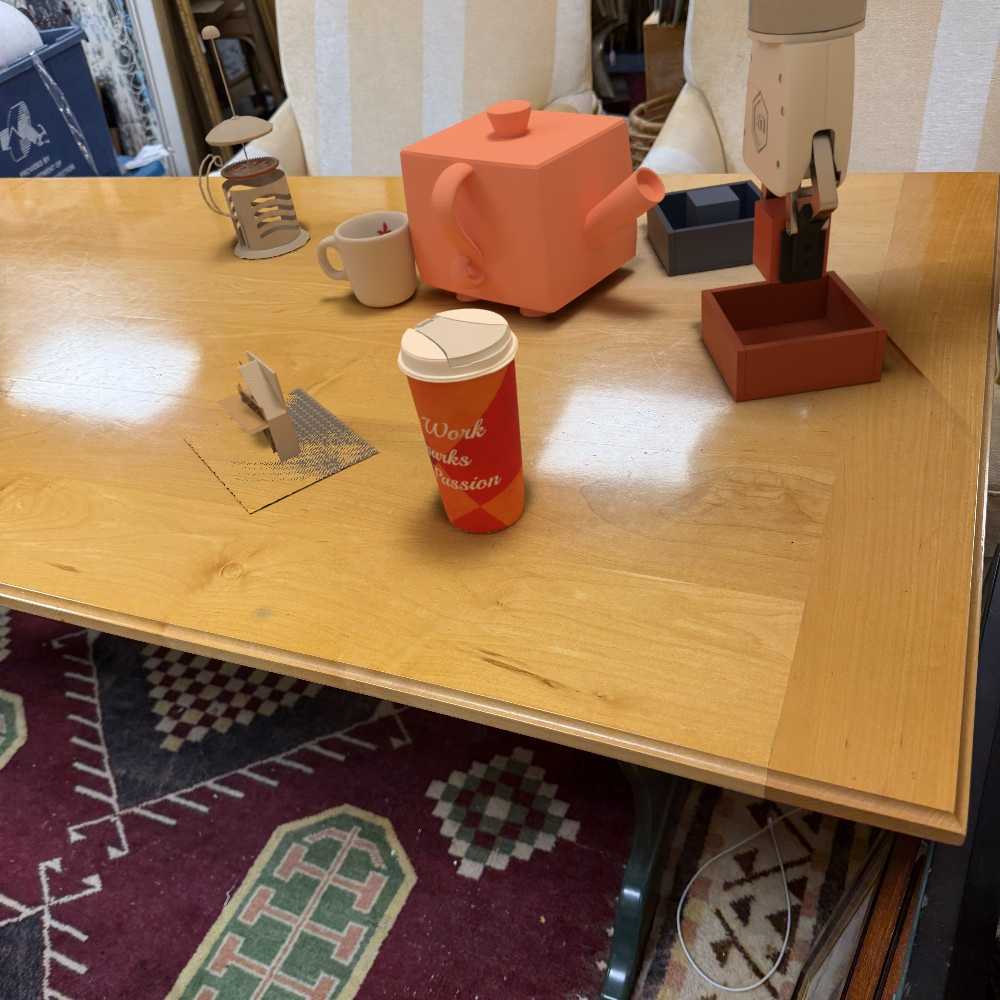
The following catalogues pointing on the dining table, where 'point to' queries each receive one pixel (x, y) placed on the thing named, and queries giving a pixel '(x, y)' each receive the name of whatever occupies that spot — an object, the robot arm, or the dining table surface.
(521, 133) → the teapot
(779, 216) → the red block
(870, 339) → the terracotta bin
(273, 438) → the architectural model
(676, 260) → the slate bin
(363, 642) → the dining table surface
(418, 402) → the paper cup
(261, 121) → the french press
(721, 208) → the slate block
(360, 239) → the cup
